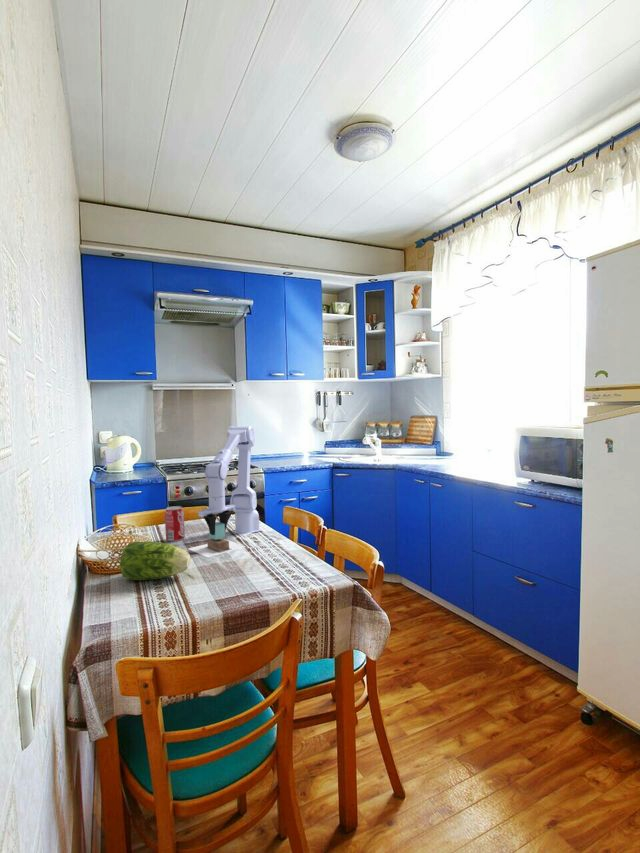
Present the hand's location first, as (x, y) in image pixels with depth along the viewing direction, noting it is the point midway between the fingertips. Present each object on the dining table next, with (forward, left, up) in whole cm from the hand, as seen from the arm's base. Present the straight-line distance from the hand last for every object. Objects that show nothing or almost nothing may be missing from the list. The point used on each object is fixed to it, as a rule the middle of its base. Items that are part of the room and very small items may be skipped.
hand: (217, 533), depth 166 cm
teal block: (0, 0, -2) cm, 2 cm away
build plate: (0, -1, -6) cm, 6 cm away
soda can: (+5, -23, -6) cm, 24 cm away
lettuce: (+28, +10, -6) cm, 30 cm away
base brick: (0, 0, -6) cm, 6 cm away
